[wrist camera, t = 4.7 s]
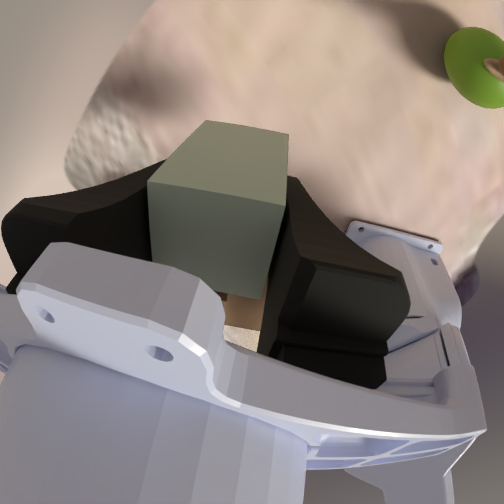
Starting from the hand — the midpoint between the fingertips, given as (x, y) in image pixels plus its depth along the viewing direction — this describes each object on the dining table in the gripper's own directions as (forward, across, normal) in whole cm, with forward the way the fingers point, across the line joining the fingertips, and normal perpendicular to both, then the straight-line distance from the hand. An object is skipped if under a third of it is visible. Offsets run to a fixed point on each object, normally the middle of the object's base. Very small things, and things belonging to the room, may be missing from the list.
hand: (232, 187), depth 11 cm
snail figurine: (+10, -13, -9) cm, 19 cm away
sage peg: (+2, 0, 0) cm, 2 cm away
